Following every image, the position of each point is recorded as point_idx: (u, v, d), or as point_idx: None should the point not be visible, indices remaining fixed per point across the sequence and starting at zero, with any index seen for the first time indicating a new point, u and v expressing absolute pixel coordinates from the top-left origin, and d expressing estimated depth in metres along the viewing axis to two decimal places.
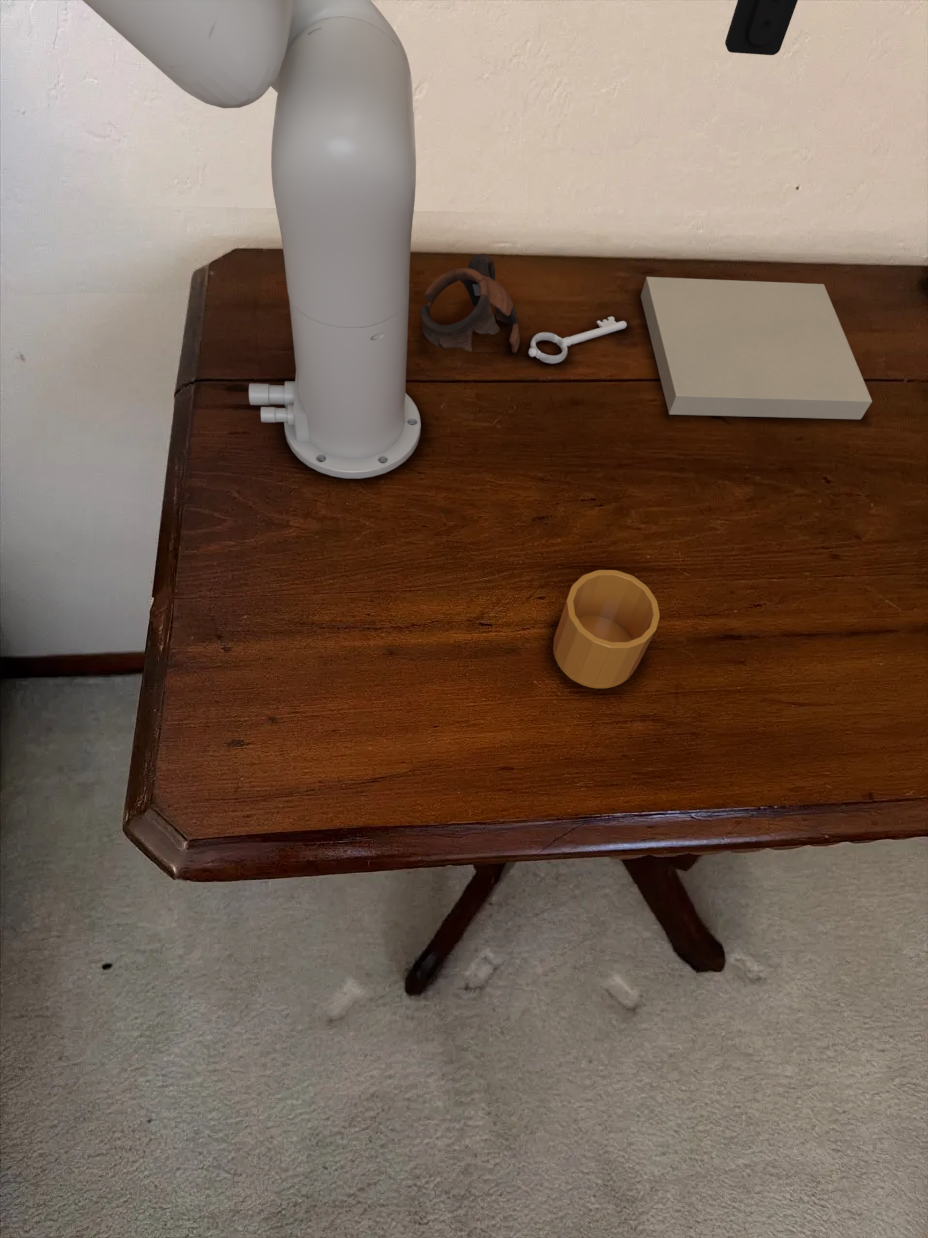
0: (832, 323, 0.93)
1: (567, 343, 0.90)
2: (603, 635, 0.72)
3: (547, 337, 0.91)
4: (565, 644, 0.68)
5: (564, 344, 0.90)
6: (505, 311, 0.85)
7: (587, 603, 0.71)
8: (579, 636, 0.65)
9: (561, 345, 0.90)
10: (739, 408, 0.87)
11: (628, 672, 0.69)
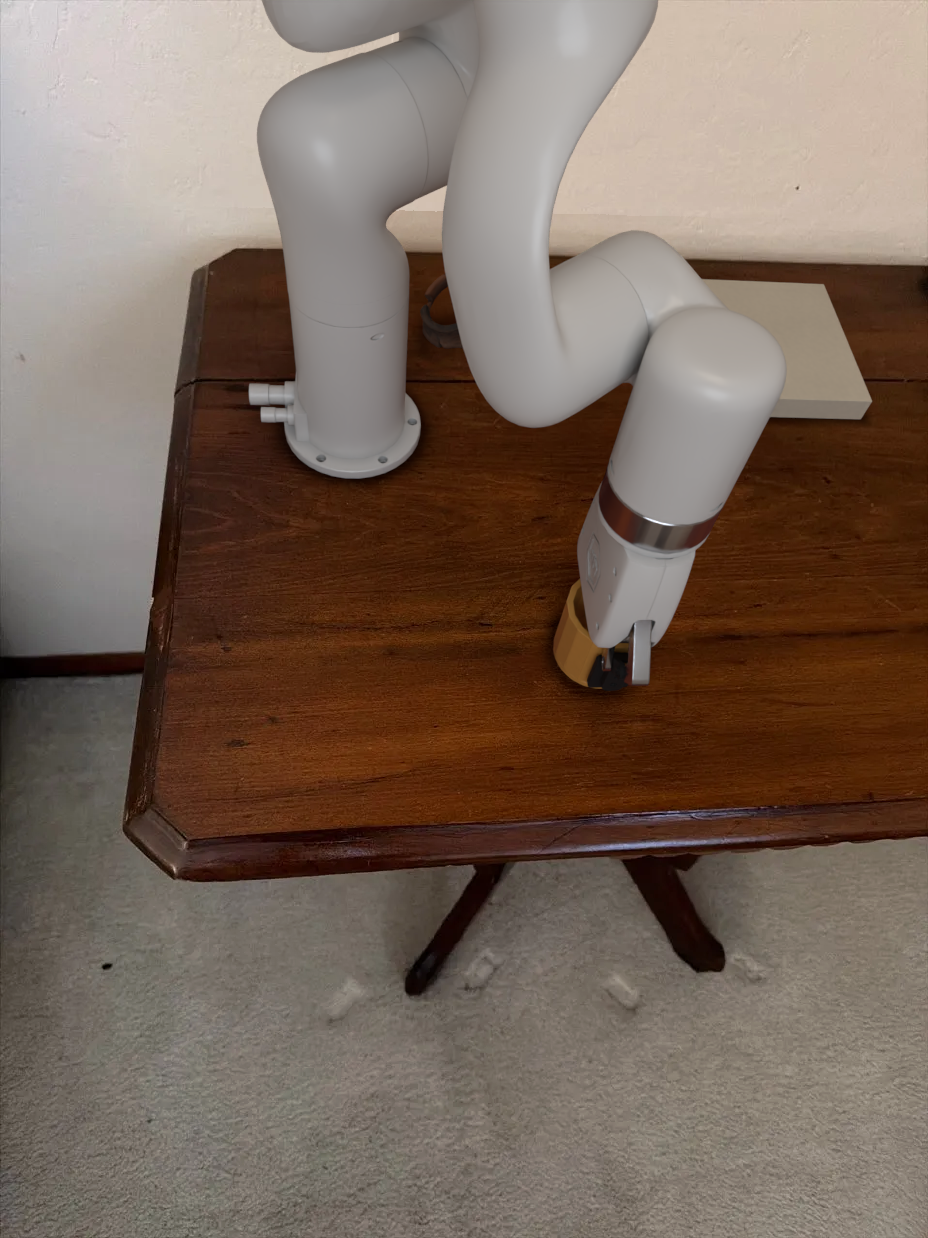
0: (832, 323, 0.93)
1: None
2: None
3: None
4: (565, 644, 0.68)
5: None
6: None
7: None
8: (579, 636, 0.65)
9: None
10: None
11: None
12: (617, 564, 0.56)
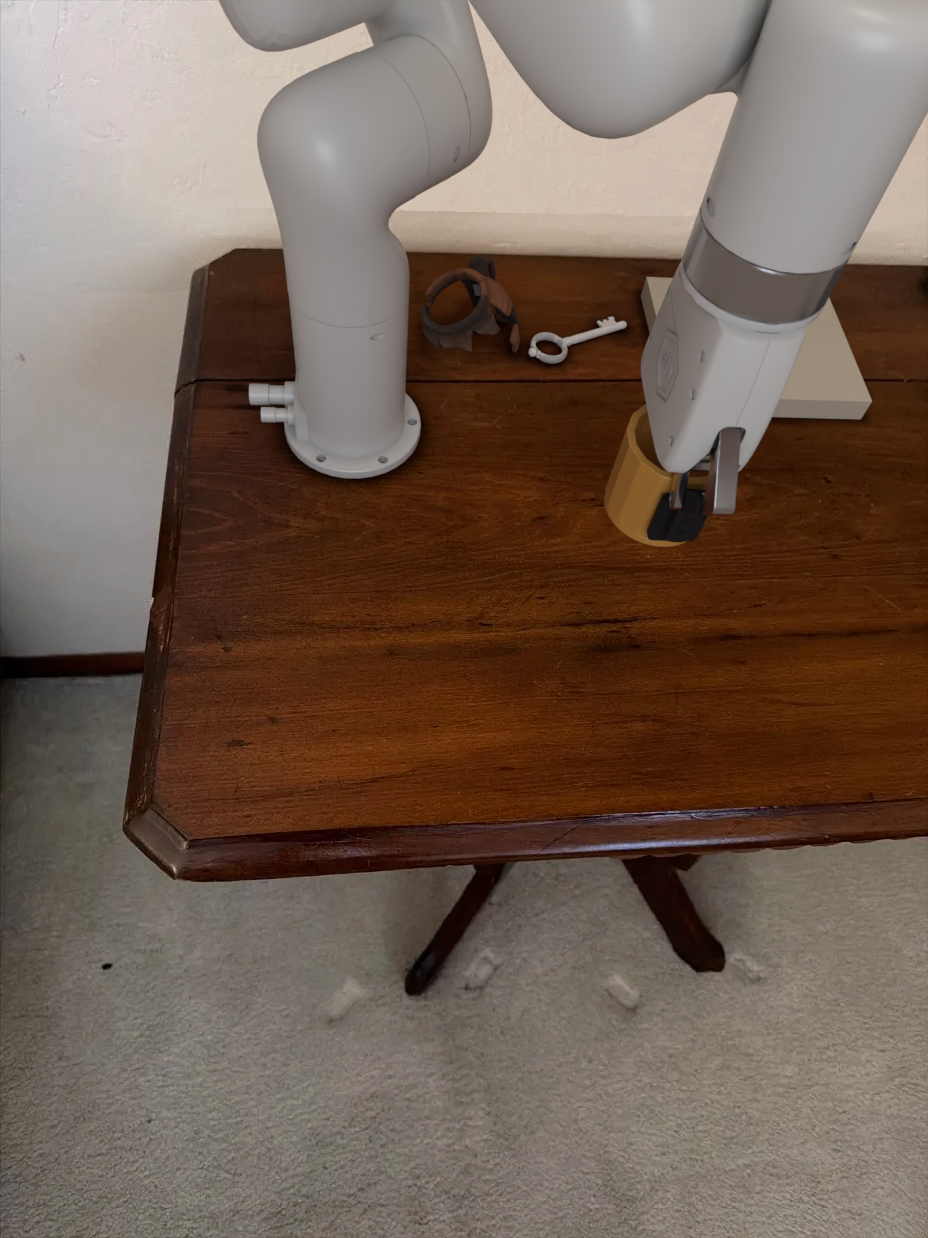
0: (832, 323, 0.93)
1: (567, 343, 0.90)
2: None
3: (547, 337, 0.91)
4: (622, 487, 0.56)
5: (564, 344, 0.90)
6: (505, 311, 0.85)
7: (647, 446, 0.59)
8: (642, 470, 0.54)
9: (561, 345, 0.90)
10: None
11: None
12: (705, 345, 0.44)
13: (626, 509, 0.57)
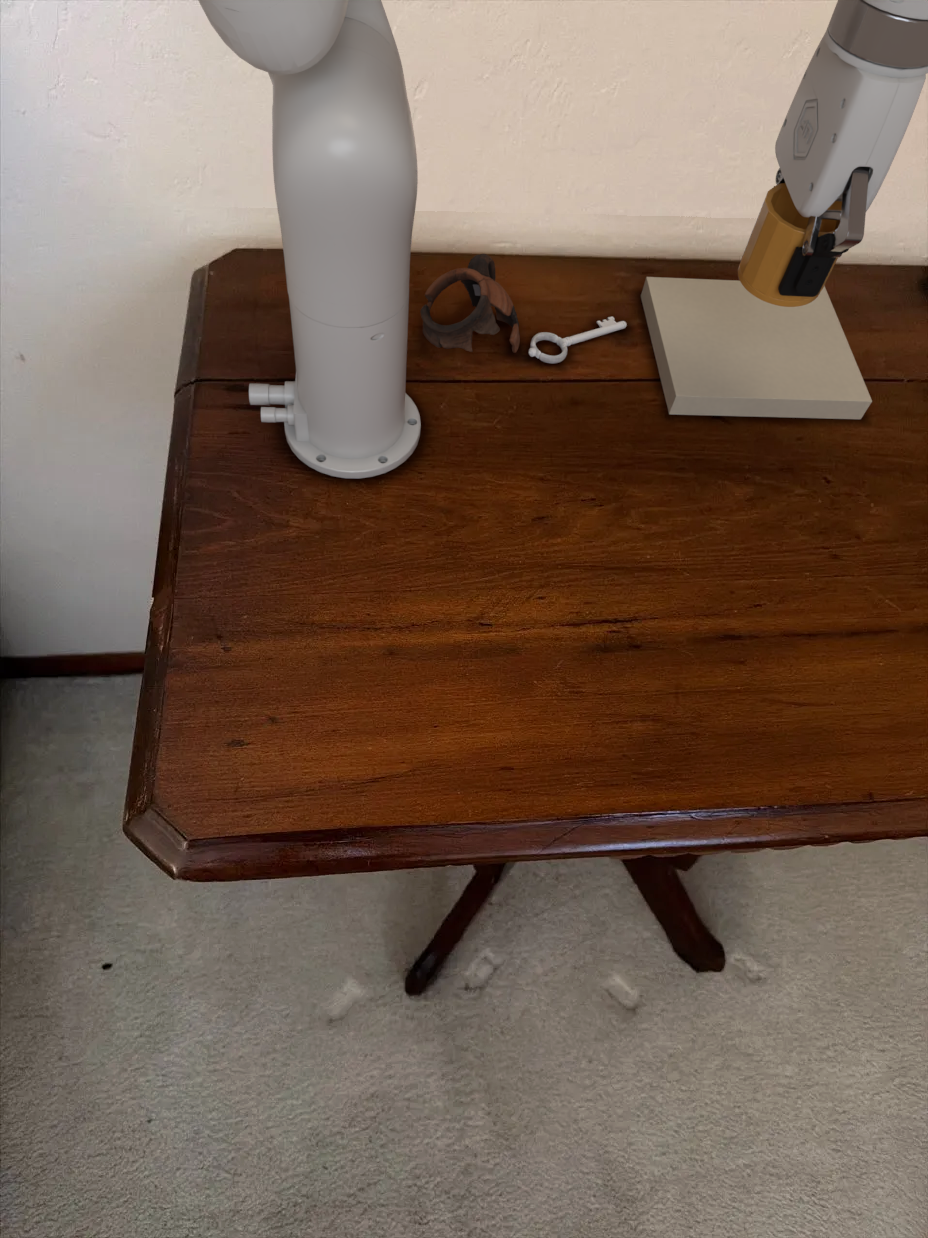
0: (832, 323, 0.93)
1: (567, 343, 0.90)
2: None
3: (547, 337, 0.91)
4: (758, 252, 0.70)
5: (564, 344, 0.90)
6: (505, 311, 0.85)
7: None
8: (779, 230, 0.67)
9: (561, 345, 0.90)
10: (739, 408, 0.87)
11: None
12: (846, 93, 0.58)
13: (761, 272, 0.70)
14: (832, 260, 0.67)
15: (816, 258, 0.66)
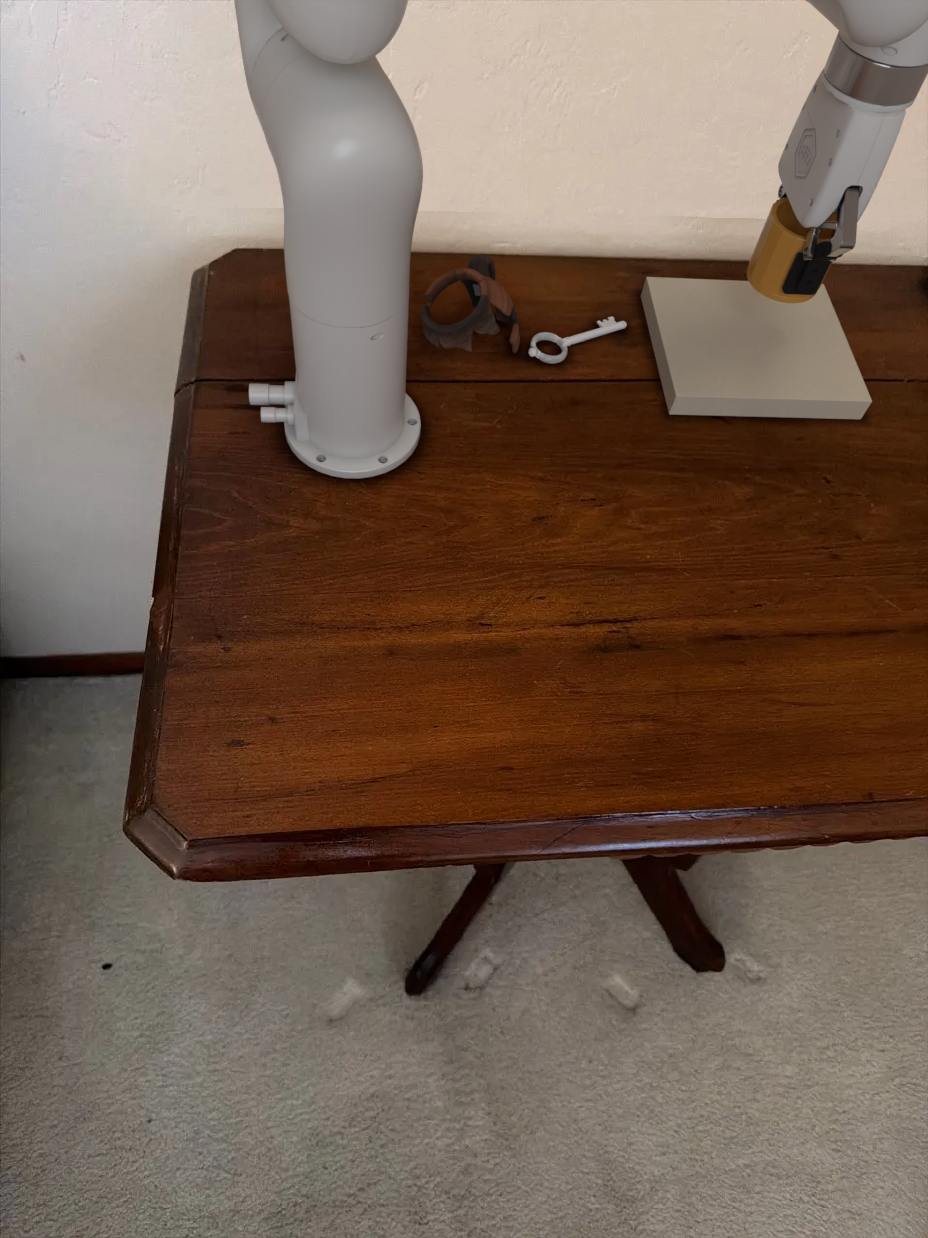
0: (832, 323, 0.93)
1: (567, 343, 0.90)
2: None
3: (547, 337, 0.91)
4: (765, 257, 0.81)
5: (564, 344, 0.90)
6: (505, 311, 0.85)
7: None
8: (783, 237, 0.79)
9: (561, 345, 0.90)
10: (739, 408, 0.87)
11: None
12: (840, 125, 0.69)
13: (767, 273, 0.82)
14: (828, 263, 0.79)
15: (815, 262, 0.78)
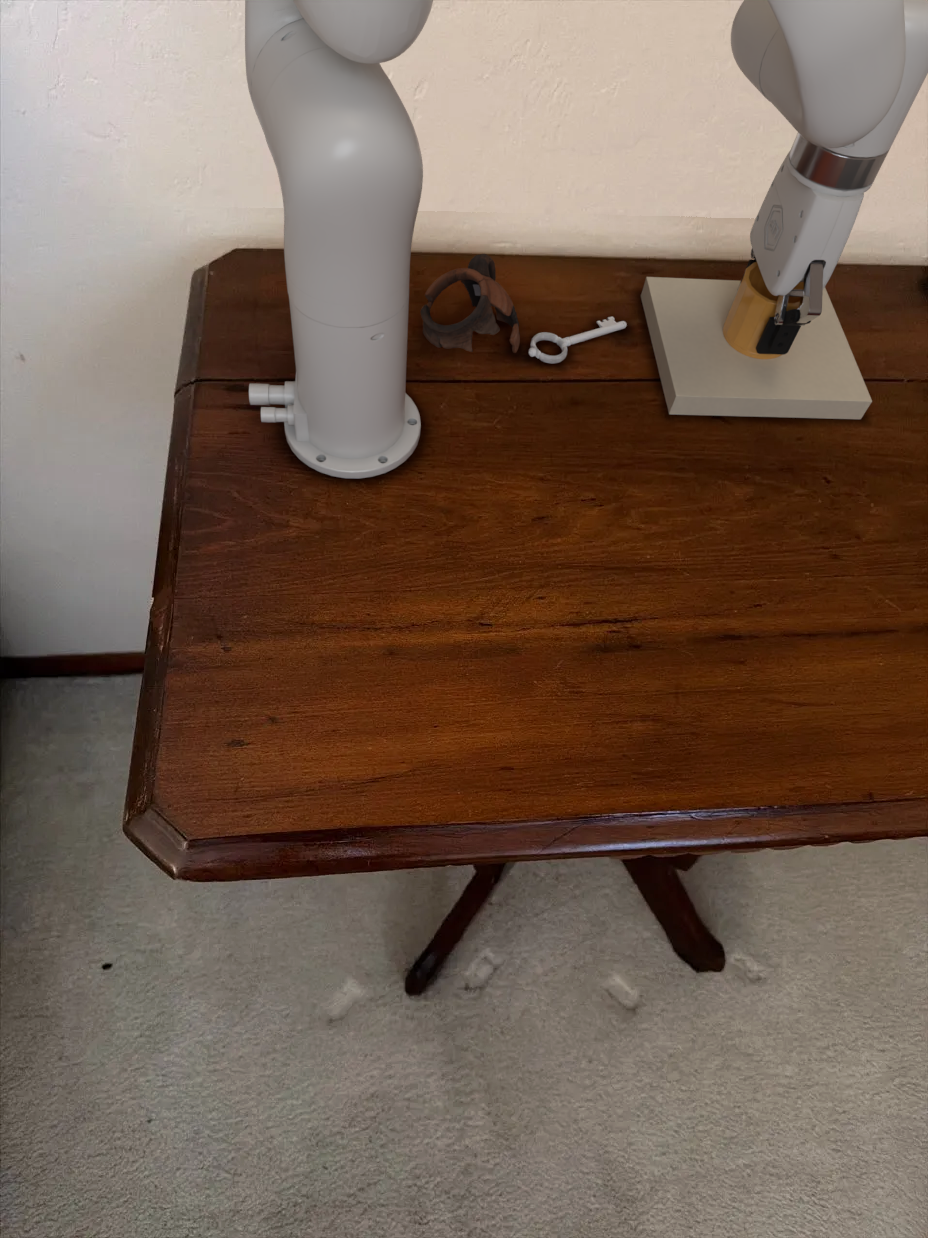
0: (832, 323, 0.93)
1: (567, 343, 0.90)
2: None
3: (547, 337, 0.91)
4: (739, 317, 0.87)
5: (564, 344, 0.90)
6: (505, 311, 0.85)
7: None
8: (755, 301, 0.84)
9: (561, 345, 0.90)
10: (739, 408, 0.87)
11: None
12: (803, 206, 0.75)
13: (741, 332, 0.88)
14: (798, 327, 0.84)
15: (785, 326, 0.83)
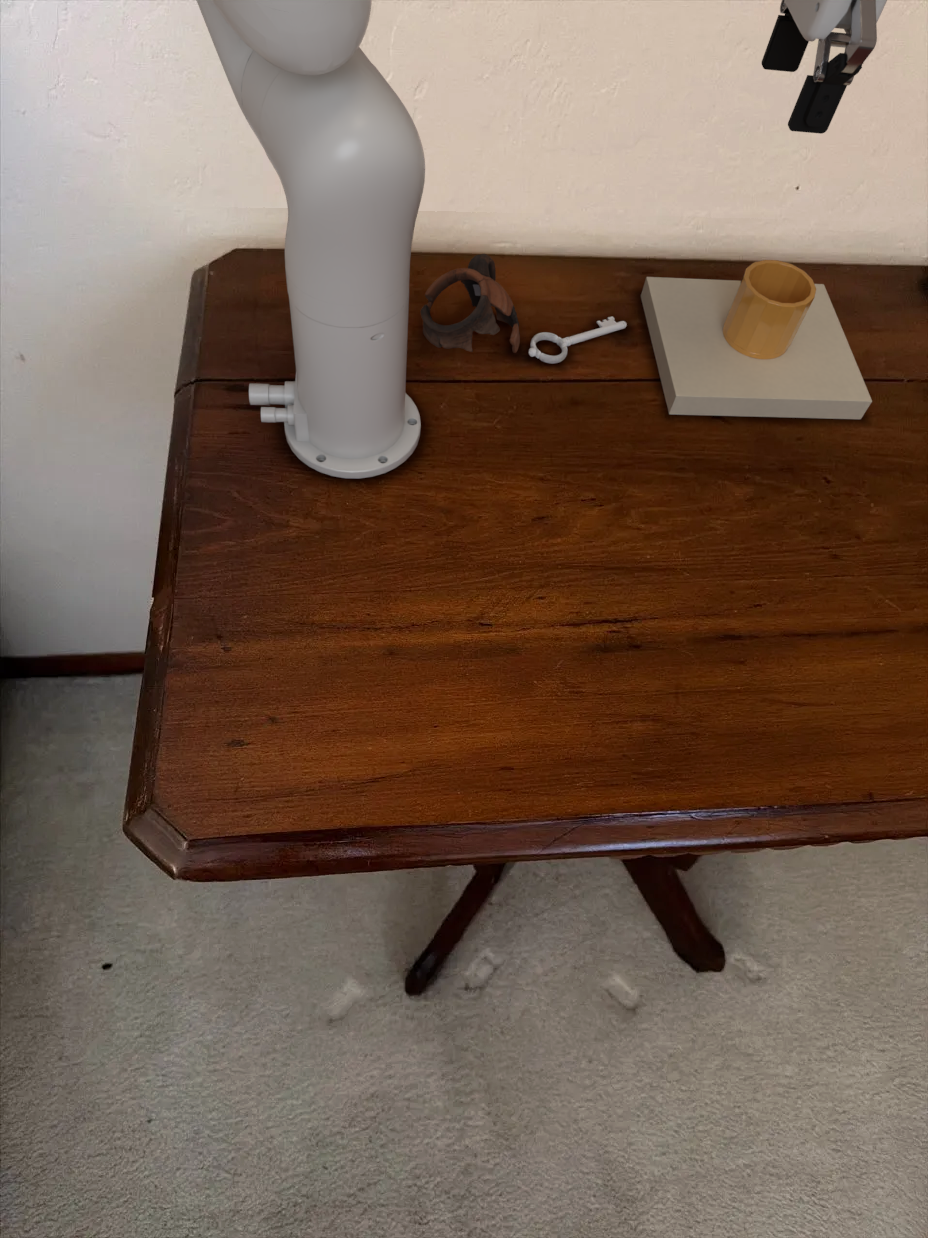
0: (832, 323, 0.93)
1: (567, 343, 0.90)
2: None
3: (547, 337, 0.91)
4: (739, 317, 0.87)
5: (564, 344, 0.90)
6: (505, 311, 0.85)
7: None
8: (755, 301, 0.84)
9: (561, 345, 0.90)
10: (739, 408, 0.87)
11: (787, 342, 0.88)
12: None
13: (741, 332, 0.88)
14: (842, 91, 0.68)
15: (827, 85, 0.67)
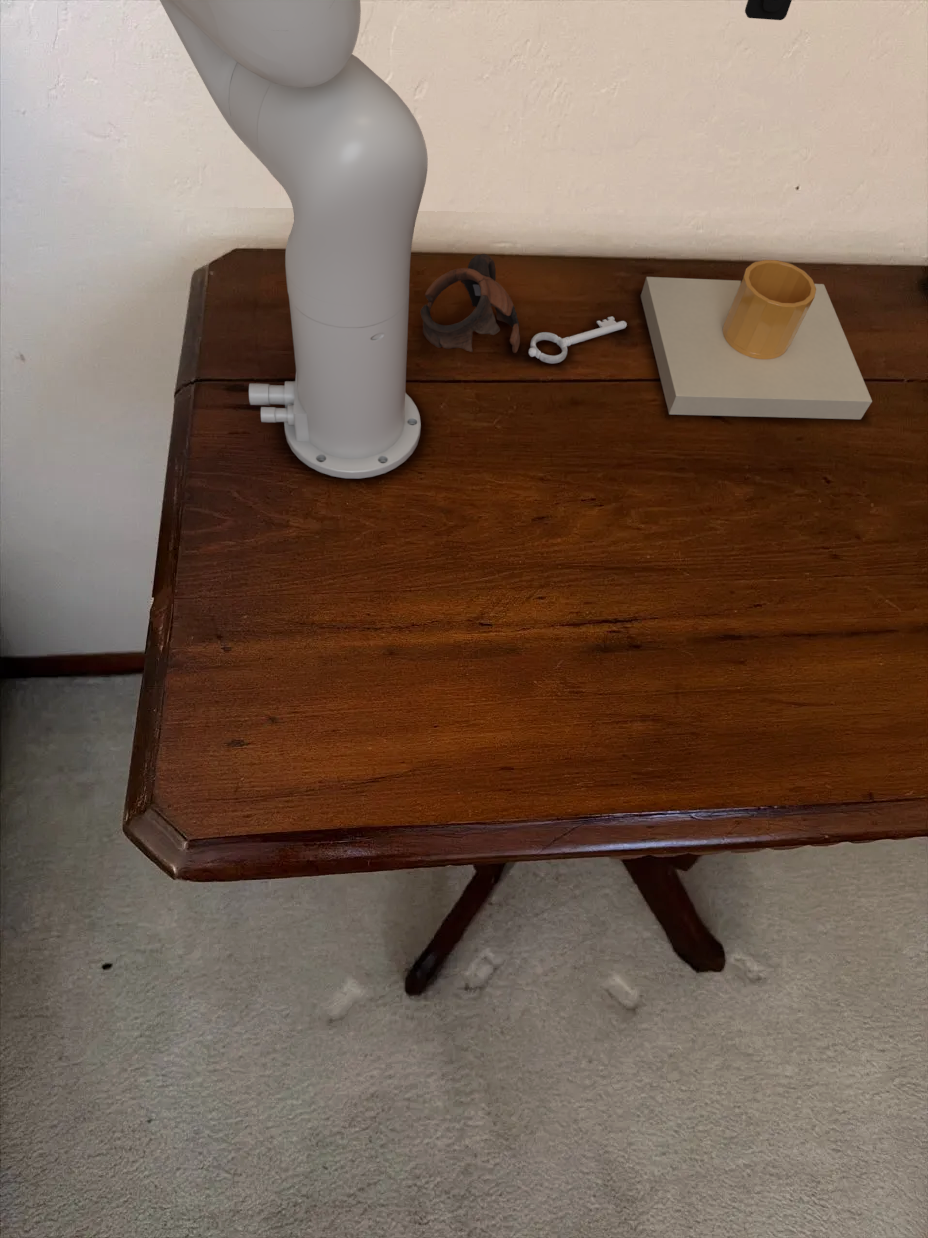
0: (832, 323, 0.93)
1: (567, 343, 0.90)
2: None
3: (547, 337, 0.91)
4: (739, 317, 0.87)
5: (564, 344, 0.90)
6: (505, 311, 0.85)
7: None
8: (755, 301, 0.84)
9: (561, 345, 0.90)
10: (739, 408, 0.87)
11: (787, 342, 0.88)
12: None
13: (741, 332, 0.88)
14: None
15: None
